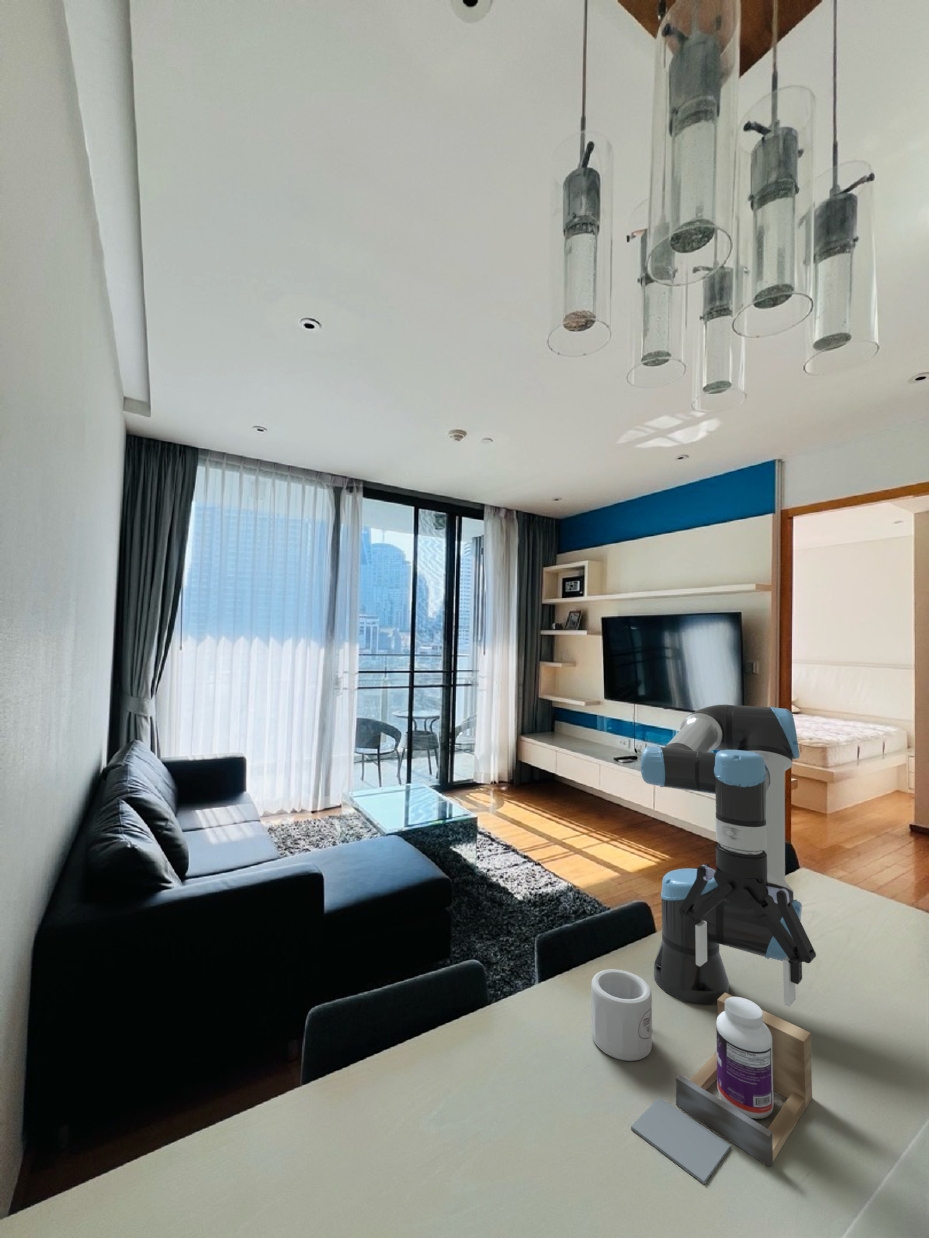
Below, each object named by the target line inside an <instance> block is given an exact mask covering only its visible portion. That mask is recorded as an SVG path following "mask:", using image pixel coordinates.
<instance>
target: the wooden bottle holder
mask: <svg viewBox="0 0 929 1238" xmlns="http://www.w3.org/2000/svg"><path fill="white" fill-rule="evenodd" d="M729 997H735V996H733V995H731V994H730V993H729V994H727V993H724V994H723V995H722V996H721V997H720V998H719V999H717V1004H716V1006H717V1010H716V1011H717V1017H718V1016H719V1015H720V1014H721V1013H722V1012H724V1011H725V1000H726V999H727V998H729ZM761 1010H762V1012H763V1023H764V1024H765V1025H766V1026H767V1027H768V1029H769V1030H770V1032H771V1035H772V1051H773V1092H774V1091H775V1092H776V1093H777V1094H780V1095H781V1096H782V1097H784V1098H786V1101H785V1102H784V1104H782V1106H781V1108H780V1109H779V1111H778V1113H777V1114H776V1116H775V1117H774V1119H773V1120H772V1122H771V1123H770V1124H769V1126H768V1127H765V1126H764V1125H762V1124H761V1123H759V1122H757V1121H756V1120H754V1119H753V1118H750V1117H748V1116H746V1115H744V1114H743V1113H741V1112H740V1111H738V1110H736V1109H735V1108H733V1107H732V1106H730V1105H728V1104H727V1103H725V1102H724V1101H723V1099H720V1098H718V1097H717V1096H715V1095H714V1094H713V1093H711V1092H709V1091H707V1090H708V1089H709V1088H710V1087H711V1086H712V1084H713V1083H714V1082H715V1081H717V1051H715V1053H714V1054H713V1055H711V1057H710V1058H709V1059H708V1060H707V1061H706V1062H705V1063H704V1064H703V1066H702V1067H700V1069H698V1071H697V1072H696V1073H695V1074H694V1075H693V1076H692V1077H691V1078H690V1079H688V1078H686V1077H685V1076H683V1075H682V1074H678V1075H677V1076H676V1077H675V1105H676V1106H677V1107H679V1108H681V1109H682V1110H683V1111H685V1112H687V1114H689V1115H691V1116H692V1117H694V1118H695V1119H697V1120H698V1121H699V1122H701V1123H703V1124H704V1125H705V1126H707V1127H709V1128H711V1129H712V1130H713V1131H714V1132H716V1133H718V1134H719V1135H720V1136H721V1137H724V1138H725V1139H726V1140H728V1141H730V1142H731V1143H732V1144H734V1145H736V1146H737V1147H739V1148H740V1149H741V1150H743V1151H745V1152H746V1153H747V1154H749V1155H750V1156H752V1157H754V1158H755V1159H756V1160H758V1161H760V1162H761V1163H762V1164H764V1165H766V1166H767V1167H768V1168H770V1167H771V1165H773V1163H774V1161H775V1160H776V1158H777V1156H778V1154H779V1153H780V1152H781V1150H782V1148H783V1146H784V1144H785V1143H786V1142H787V1140H788V1138H789V1137H790V1135H791V1133H792V1131H793V1130H794V1129H795V1127H796V1125H797V1124H798V1122H799V1120H800V1118H801V1117H802V1115H803V1113H804V1112H805V1111H806V1109H807V1107H809V1106H808V1105H809V1104H810V1103H811V1101H812V1099H813V1079H812V1078H813V1076H812V1073H813V1072H812V1071H813V1070H812V1041H811V1040H812V1034H811V1032H810V1031H808V1030H805V1029H803V1028H801V1027H799V1026H797V1025H796V1024H793V1023H791V1022H789V1021H787V1020H784V1019H782V1018H780V1017H778V1016H775V1015H773V1014H771V1013H770V1012H768V1011H766V1010H763V1009H761Z"/></svg>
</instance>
